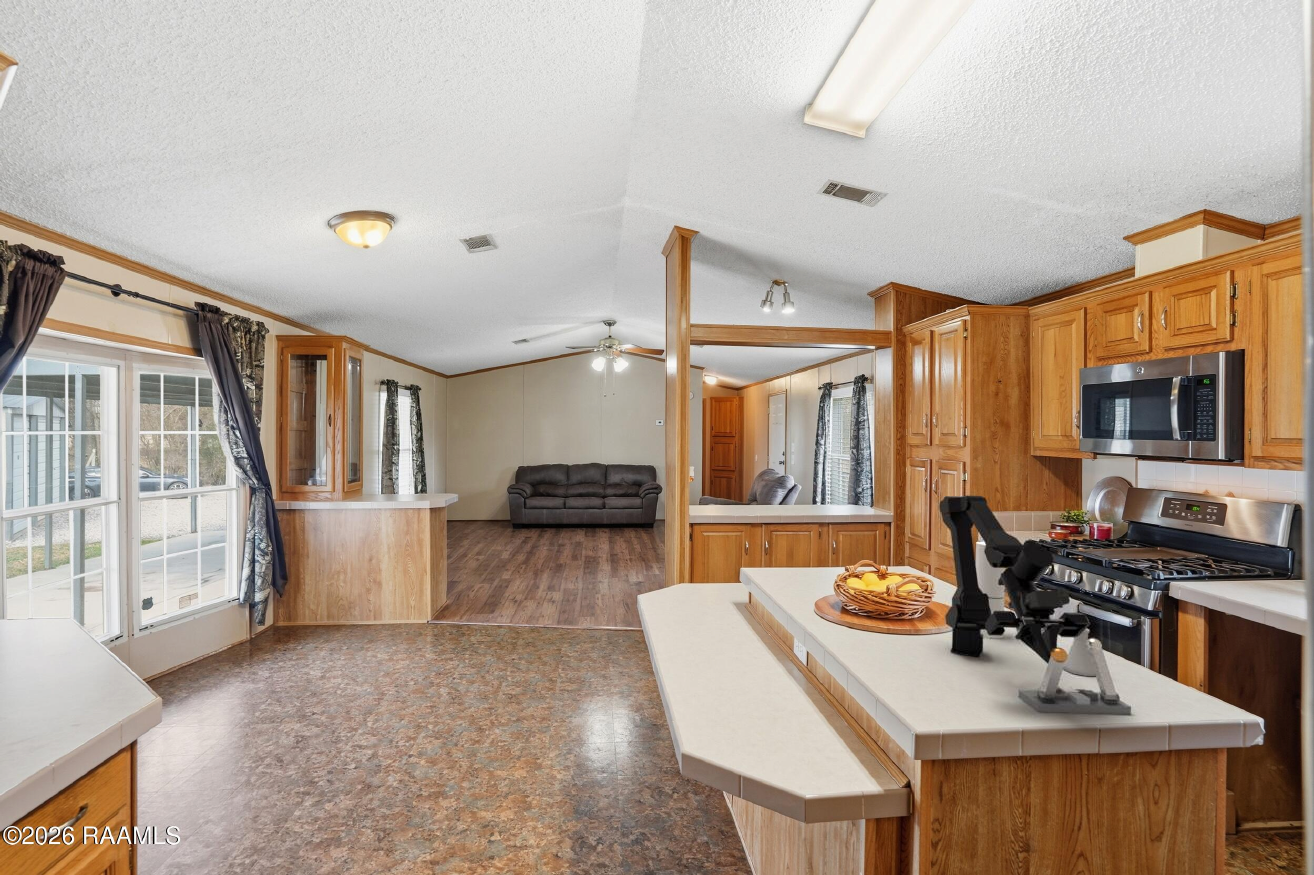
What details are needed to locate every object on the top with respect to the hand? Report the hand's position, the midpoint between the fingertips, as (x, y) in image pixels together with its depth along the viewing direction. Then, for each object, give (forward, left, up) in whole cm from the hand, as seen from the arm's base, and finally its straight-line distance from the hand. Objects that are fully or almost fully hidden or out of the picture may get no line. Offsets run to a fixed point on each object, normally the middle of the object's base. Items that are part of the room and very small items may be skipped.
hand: (1053, 663), depth 125 cm
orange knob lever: (-1, +2, -7) cm, 7 cm away
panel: (+4, +6, -9) cm, 12 cm away
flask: (+6, +31, -10) cm, 33 cm away
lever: (+10, +8, -7) cm, 14 cm away
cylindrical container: (-14, +51, -10) cm, 53 cm away
